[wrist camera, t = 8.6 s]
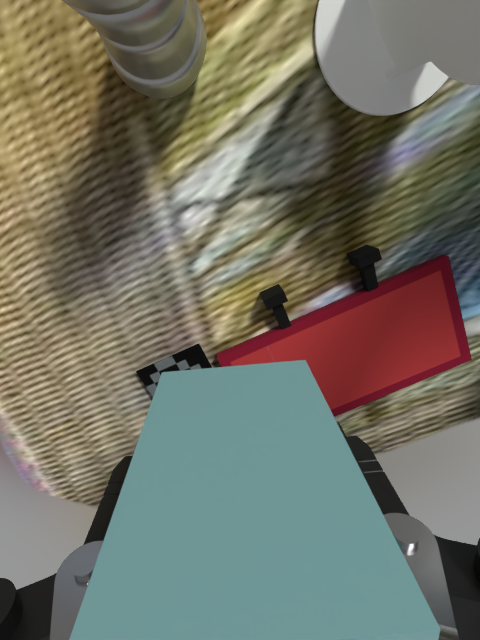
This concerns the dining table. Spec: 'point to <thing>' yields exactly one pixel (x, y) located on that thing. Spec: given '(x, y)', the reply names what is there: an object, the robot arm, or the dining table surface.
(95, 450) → the dining table surface
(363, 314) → the red board with handle
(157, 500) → the teal block
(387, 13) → the white round-based fixture
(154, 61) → the plastic bottle
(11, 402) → the dining table surface
